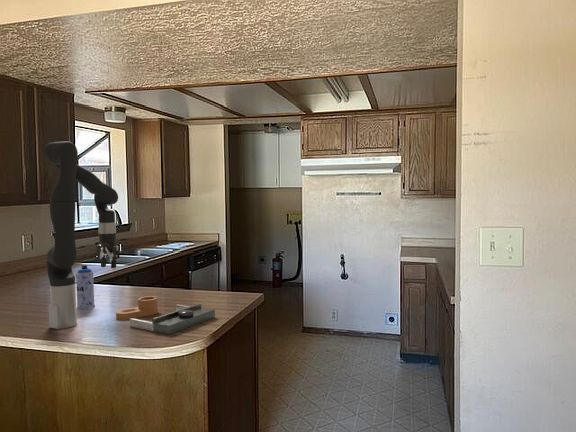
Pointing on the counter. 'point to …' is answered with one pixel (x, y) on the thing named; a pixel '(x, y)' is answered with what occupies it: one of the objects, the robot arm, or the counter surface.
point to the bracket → (140, 309)
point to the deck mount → (176, 319)
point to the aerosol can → (85, 288)
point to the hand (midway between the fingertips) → (108, 267)
